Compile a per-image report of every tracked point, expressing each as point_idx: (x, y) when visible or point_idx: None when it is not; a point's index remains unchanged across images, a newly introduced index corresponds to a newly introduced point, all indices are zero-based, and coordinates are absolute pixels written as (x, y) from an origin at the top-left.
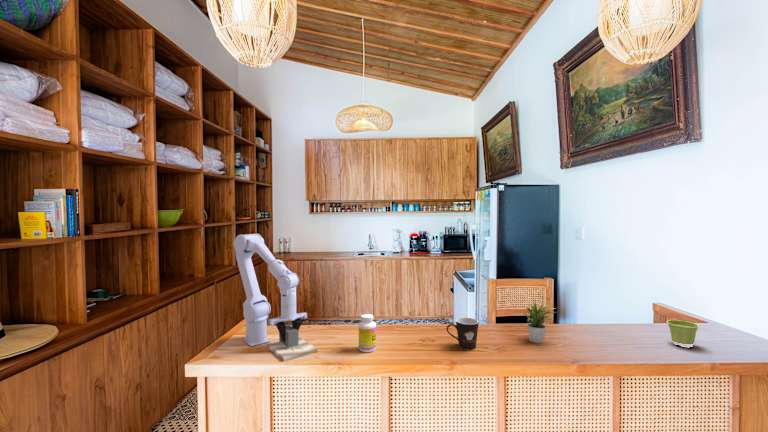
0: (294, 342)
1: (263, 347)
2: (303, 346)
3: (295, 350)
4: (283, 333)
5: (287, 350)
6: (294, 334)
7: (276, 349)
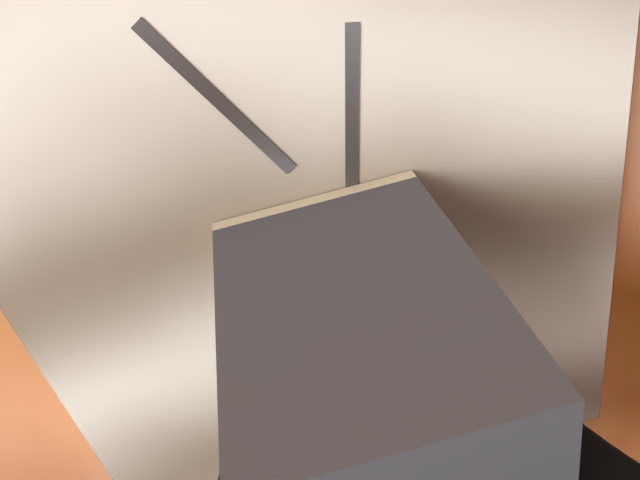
0: (307, 251)
1: (609, 403)
2: (112, 177)
3: (308, 27)
4: (602, 466)
5: (450, 99)
6: (344, 382)
7: (585, 219)
